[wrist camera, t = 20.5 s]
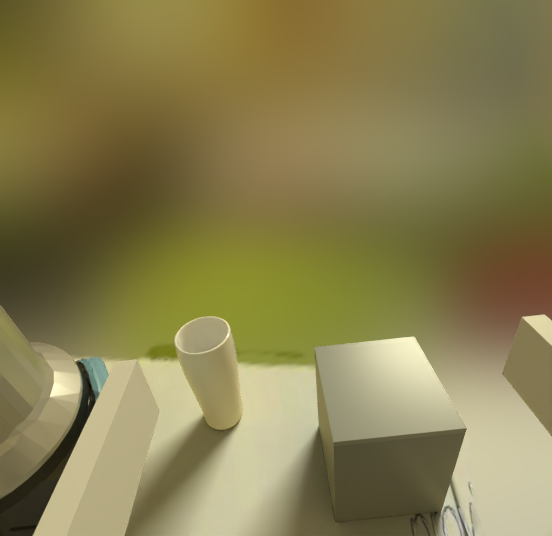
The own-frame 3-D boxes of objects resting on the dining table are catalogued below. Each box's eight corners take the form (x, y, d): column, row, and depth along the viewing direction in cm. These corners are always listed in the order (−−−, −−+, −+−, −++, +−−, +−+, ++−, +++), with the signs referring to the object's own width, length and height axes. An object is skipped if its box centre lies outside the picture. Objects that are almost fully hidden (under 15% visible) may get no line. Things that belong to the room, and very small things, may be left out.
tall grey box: (335, 522, 36) (333, 442, 28) (318, 425, 45) (314, 347, 38) (441, 511, 35) (466, 428, 28) (402, 417, 45) (414, 336, 38)
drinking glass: (190, 425, 47) (160, 344, 39) (220, 388, 52) (198, 310, 44) (230, 445, 44) (206, 362, 36) (258, 404, 49) (242, 323, 41)
